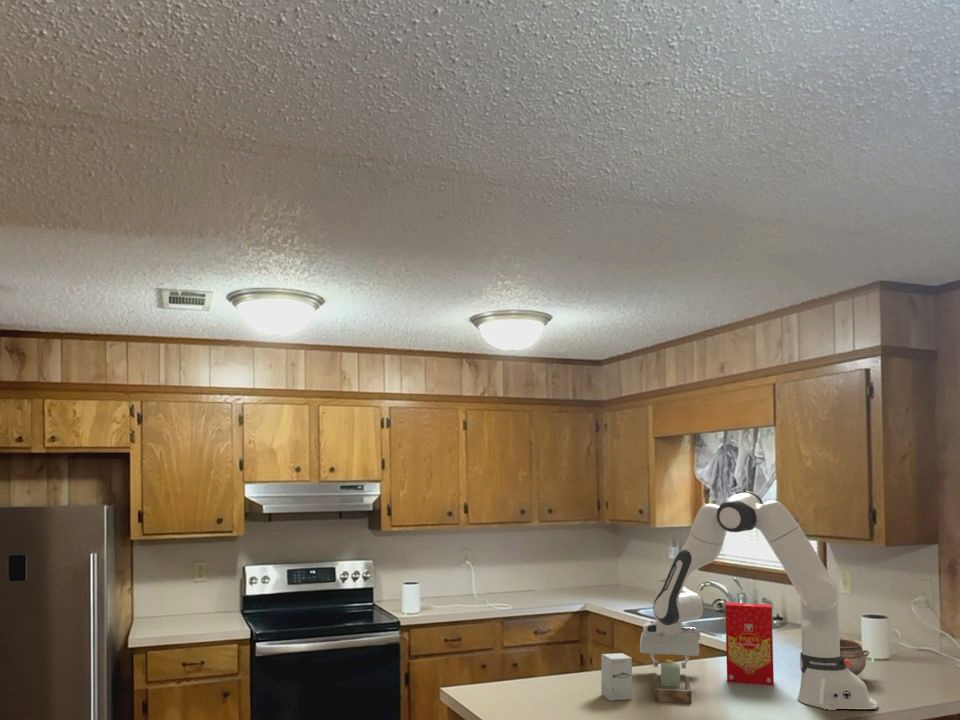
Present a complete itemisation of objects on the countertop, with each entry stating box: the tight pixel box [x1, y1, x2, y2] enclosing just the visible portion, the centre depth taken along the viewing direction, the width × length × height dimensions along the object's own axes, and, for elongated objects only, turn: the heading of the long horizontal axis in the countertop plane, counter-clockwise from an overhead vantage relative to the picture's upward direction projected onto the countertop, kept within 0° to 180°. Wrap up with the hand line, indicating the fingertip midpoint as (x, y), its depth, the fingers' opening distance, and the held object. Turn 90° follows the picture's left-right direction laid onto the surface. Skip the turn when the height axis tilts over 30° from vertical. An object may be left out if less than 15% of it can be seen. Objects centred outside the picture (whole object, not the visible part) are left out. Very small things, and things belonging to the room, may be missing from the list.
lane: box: [653, 676, 692, 704], centre depth 278 cm, size 11×16×4 cm
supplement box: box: [600, 652, 633, 702], centre depth 275 cm, size 7×7×13 cm
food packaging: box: [725, 601, 775, 687], centre depth 295 cm, size 15×5×25 cm, turn 73°
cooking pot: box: [839, 636, 870, 676], centre depth 299 cm, size 25×19×12 cm
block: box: [660, 659, 681, 687], centre depth 297 cm, size 6×17×6 cm, turn 169°
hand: (669, 667), depth 305 cm, fingers open, 8 cm apart
